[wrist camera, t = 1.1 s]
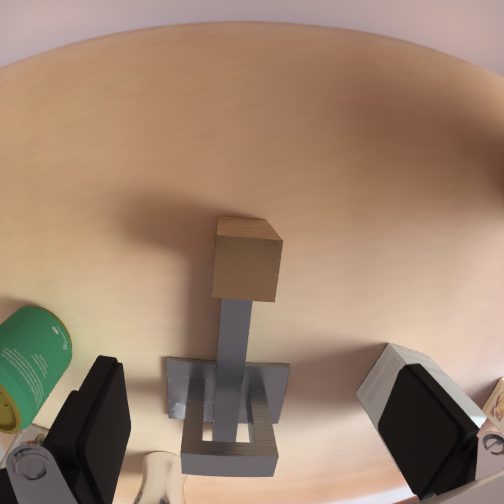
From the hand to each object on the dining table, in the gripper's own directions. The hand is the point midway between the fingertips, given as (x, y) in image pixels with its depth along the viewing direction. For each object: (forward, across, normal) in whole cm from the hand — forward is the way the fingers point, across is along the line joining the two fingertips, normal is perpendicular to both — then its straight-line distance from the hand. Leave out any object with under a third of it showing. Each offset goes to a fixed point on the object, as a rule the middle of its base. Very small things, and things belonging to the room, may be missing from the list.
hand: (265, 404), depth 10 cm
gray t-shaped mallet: (+19, 0, +9) cm, 21 cm away
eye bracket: (+19, 0, +15) cm, 24 cm away
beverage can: (+19, +20, +11) cm, 30 cm away
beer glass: (+19, +7, +29) cm, 35 cm away
